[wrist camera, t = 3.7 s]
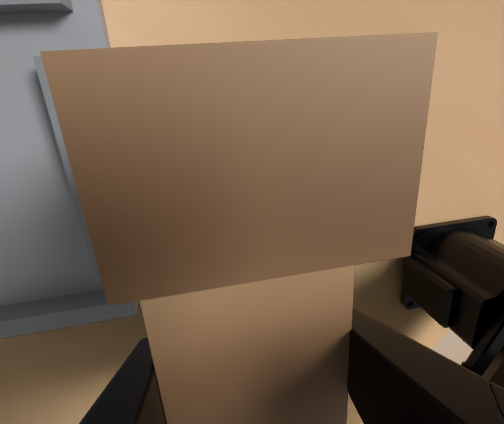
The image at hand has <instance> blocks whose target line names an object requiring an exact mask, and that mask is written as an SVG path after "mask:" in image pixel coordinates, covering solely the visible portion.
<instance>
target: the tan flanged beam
mask: <svg viewBox="0 0 504 424" xmlns="http://www.w3.org/2000/svg"><path fill="white" fill-rule="evenodd" d="M437 34H438V32H433V33H412V34H391V35H370V36H349V37H328V38H307V39H286V40H265V41H245V42H224V43H203V44H182V45H161V46H140V47H119V48H98V49H78V50H57V51H40V54H41V58H42V62H43V65H44V69H45V73H46V77H47V80H48V84H49V88H50V91H51V95H52V99H53V103H54V106H55V110H56V114H57V117H58V121H59V125H60V129H61V132H62V136H63V140H64V143H65V147H66V151H67V155H68V158H69V162H70V166H71V169H72V173H73V177H74V181H75V184H76V188H77V192H78V195H79V199H80V203H81V207H82V210H83V214H84V218H85V221H86V225H87V229H88V233H89V236H90V240H91V244H92V247H93V251H94V255H95V259H96V262H97V266H98V270H99V273H100V277H101V281H102V285H103V288H104V292H105V296H106V299H107V303H108V306H113V305H119V304H125V303H131V302H137V301H140V305H141V310H142V314H143V318H144V323H145V327H146V332H147V336H148V340H149V345H150V349H151V354H152V358H153V363H154V367H155V371H156V376H157V380H158V385H159V389H160V394H161V398H162V402H163V407H164V411H165V416H166V420H167V424H346V421H347V402H348V390H347V380H348V360H349V341H350V330H351V328H352V309H353V291H354V272H355V265H359V264H365V263H371V262H377V261H383V260H389V259H395V258H401V257H407V256H410V255H411V247H412V239H413V231H414V223H415V214H416V206H417V198H418V190H419V182H420V173H421V165H422V157H423V149H424V141H425V132H426V124H427V116H428V108H429V100H430V91H431V83H432V75H433V67H434V59H435V50H436V42H437Z"/></svg>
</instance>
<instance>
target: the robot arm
mask: <svg viewBox="0 0 504 424" xmlns="http://www.w3.org/2000/svg"><path fill="white" fill-rule="evenodd" d="M496 225H497V220H496V219H495V218H493V217H491V216H483V217H477V218H470V219H464V220H457V221H450V222H444V223H437V224H431V225H424V226H418V227H414V231H413V239H412V247H411V255H410V256H407V257H406V261H405V270H404V278H403V286H402V295H401V304H402V306H403V307H404V308H405V309H414V308H419V307H421V308H422V309H424V310H425V311H426V312H427V313H428V314H429V315H430V316H431V317H432V318H433V319H434V320H436V321H437V322H438V323H439V324H440V325H441V326H442V327H444V328H447V327H449V328H450V329H451V330H452V331H453V332H454V333H455V334H457V335H458V336H459V337H460V338H461V339H462V340H463V341H464V342H465V343H467V344H468V345H469V346H470V347H471V348H472V349H473V351H472V352H471V354H470V355H469V357H468V359H467V360H466V361H465V362H462V364H461V365H459V364H457V363H455V362H453V361H452V360H450V359H447V358H446V357H444V356H442V355H440V354H439V353H437V352H435V351H433V350H431V349H429V348H428V347H426V346H424V345H422V344H420V343H418V342H416V341H415V340H413V339H411V338H409V337H407V336H405V335H403V334H402V333H400V332H398V331H396V330H394V329H392V328H391V327H389V326H387V325H385V324H383V323H381V322H379V321H378V320H376V319H374V318H372V317H370V316H368V315H366V314H365V313H363V312H361V311H359V310H357V309H355V308H353V309H352V328H351V330H350V341H349V360H348V380H347V390H348V393H349V395H350V397H351V400H352V402H353V404H354V406H355V408H356V409H357V411H358V413H359V415H360V417H361V419H362V421H363V423H364V424H504V245H503V244H501V243H499V242H497V241H495V240H493V238H494V234H495V229H496ZM418 233H419V234H418ZM417 234H418V235H417ZM416 235H417V236H416ZM79 424H167V420H166V416H165V411H164V407H163V402H162V398H161V394H160V389H159V385H158V380H157V376H156V371H155V367H154V363H153V358H152V354H151V349H150V345H149V340H148V338H143V339H142V340H141V341H140V342H139V343H138V344H137V346H136V347H135V349H134V350H133V351H132V353H131V354H130V355H129V357H128V358H127V359H126V361H125V362H124V363H123V365H122V366H121V367H120V369H119V370H118V372H117V373H116V374H115V376H114V377H113V378H112V380H111V381H110V382H109V384H108V385H107V386H106V388H105V389H104V391H103V392H102V393H101V395H100V396H99V397H98V399H97V400H96V401H95V403H94V404H93V405H92V407H91V408H90V410H89V411H88V412H87V414H86V415H85V416H84V418H83V419H82V420H81V422H80V423H79Z"/></svg>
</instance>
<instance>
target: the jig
mask: <svg viewBox="0 0 504 424" xmlns="http://www.w3.org/2000/svg"><path fill="white" fill-rule="evenodd" d="M98 48H110V43H109V38H108V33H107V28H106V23H105V18H104V13H103V8H102V3H101V0H0V339H3V338H9V337H14V336H20V335H26V334H32V333H37V332H43V331H49V330H55V329H60V328H66V327H72V326H78V325H83V324H89V323H95V322H101V321H106V320H112V319H118V318H124V317H129V316H135V315H137V310H138V306H139V303H140V301H137V302H131V303H125V304H119V305H113V306H108V303H107V299H106V296H105V292H104V288H103V285H102V281H101V277H100V273H99V270H98V266H97V262H96V259H95V255H94V251H93V247H92V244H91V240H90V236H89V233H88V229H87V225H86V221H85V218H84V214H83V210H82V207H81V203H80V199H79V195H78V192H77V188H76V184H75V181H74V177H73V173H72V169H71V166H70V162H69V158H68V155H67V151H66V147H65V143H64V140H63V136H62V132H61V129H60V125H59V121H58V117H57V114H56V110H55V106H54V103H53V99H52V95H51V91H50V88H49V84H48V80H47V77H46V73H45V69H44V65H43V62H42V58H41V54H40V51H57V50H78V49H98Z"/></svg>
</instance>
